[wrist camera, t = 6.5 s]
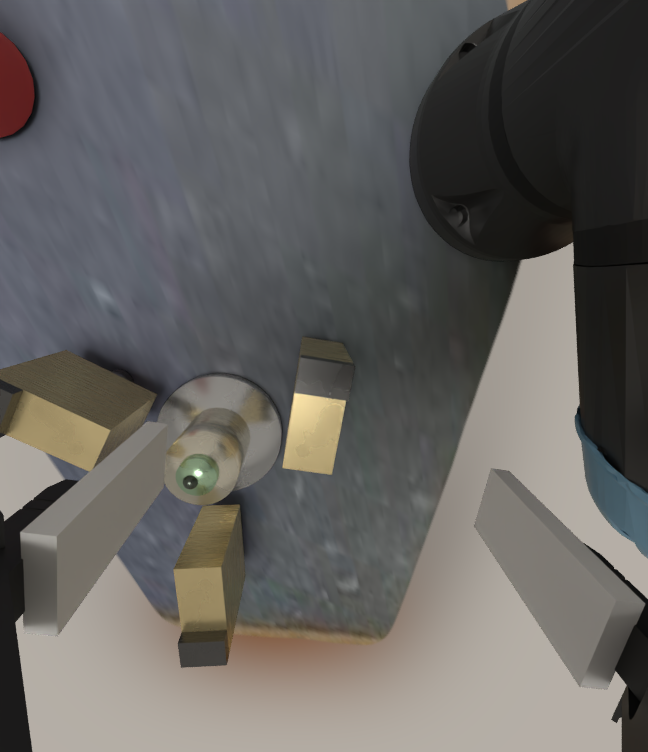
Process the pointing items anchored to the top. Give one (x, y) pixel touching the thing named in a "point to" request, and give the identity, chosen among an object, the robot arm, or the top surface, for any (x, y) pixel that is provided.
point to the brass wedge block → (70, 407)
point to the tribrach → (217, 436)
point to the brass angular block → (210, 586)
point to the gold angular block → (318, 405)
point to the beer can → (14, 88)
